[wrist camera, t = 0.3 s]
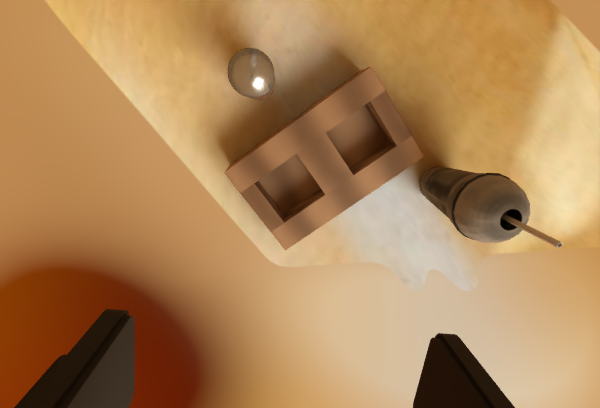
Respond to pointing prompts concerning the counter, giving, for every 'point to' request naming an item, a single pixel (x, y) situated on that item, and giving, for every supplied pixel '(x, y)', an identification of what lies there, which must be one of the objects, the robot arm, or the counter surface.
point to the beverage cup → (481, 204)
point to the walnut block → (325, 159)
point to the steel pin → (251, 73)
